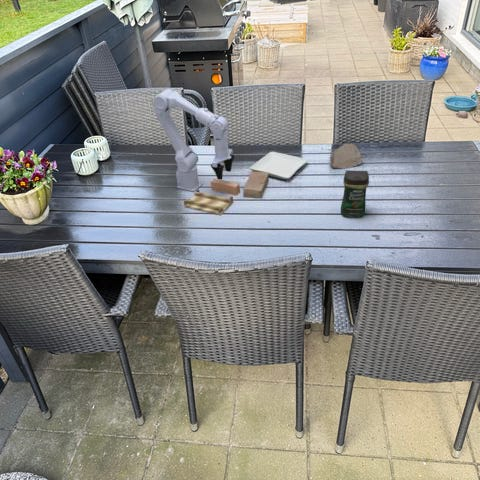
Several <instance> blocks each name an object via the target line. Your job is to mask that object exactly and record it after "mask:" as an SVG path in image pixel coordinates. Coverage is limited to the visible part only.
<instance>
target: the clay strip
mask: <svg viewBox="0 0 480 480" xmlns="http://www.w3.org/2000/svg"><path fill="white" fill-rule="evenodd" d="M240 188H241V187H240V183H237V182H234V181H233V182H232V181H228V180H223V179H222V180H221V179H217V178H213V179H212V180H211V181H210V189H211V191H215V192H219V193H223V194H226V195H230V196H238V195H239V194H240V193H241V189H240Z"/></svg>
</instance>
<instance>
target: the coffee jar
mask: <svg viewBox="0 0 480 480" xmlns="http://www.w3.org/2000/svg"><path fill="white" fill-rule="evenodd" d="M369 176H370V175H369V171H368V170H346V171H345V172H344V175H343V186H344V189H343V196H342V201H341V206H340V214H341V215H342V217H345V218H362V217H364V216H365V215H366V205H367V204H366V197H367V195H366V194H367V188H368V187H369V184H370V177H369Z"/></svg>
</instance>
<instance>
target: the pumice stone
mask: <svg viewBox="0 0 480 480" xmlns="http://www.w3.org/2000/svg"><path fill="white" fill-rule="evenodd" d="M363 160H364V159H363V158H362V155H361V152H360V151H359V149H358V147H357V145H356V144H354V143H352V142H351V143H343V145H340V146H339V147H338V148H334V150H333V152H332V155H331V158H330V167H332V168H333V169H345V168H346V169H350V168H349V167H351V168H353V166H354V167H357V166H358V165H361V164H362V162H363Z"/></svg>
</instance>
